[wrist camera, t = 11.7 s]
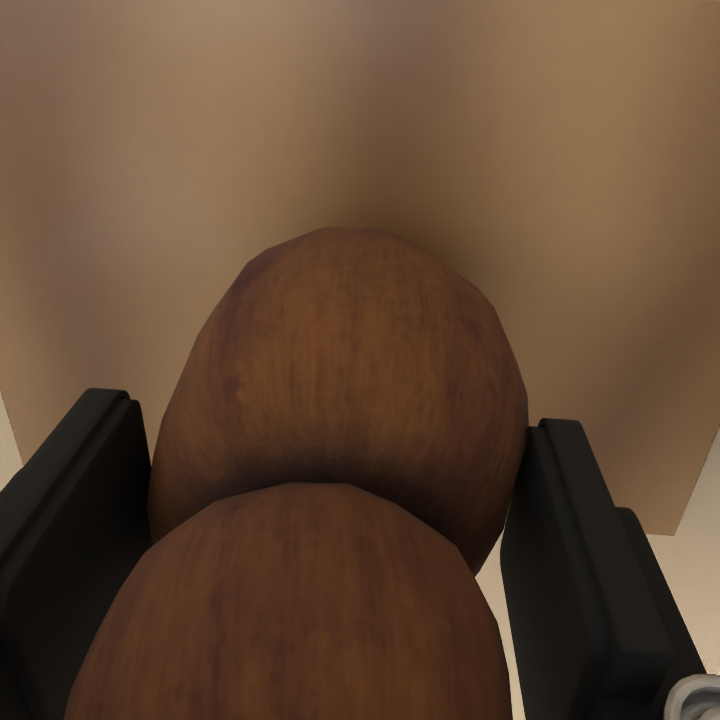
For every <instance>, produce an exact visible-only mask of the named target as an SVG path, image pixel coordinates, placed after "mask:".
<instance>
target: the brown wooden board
mask: <svg viewBox="0 0 720 720" xmlns="http://www.w3.org/2000/svg"><path fill="white" fill-rule="evenodd" d="M324 227H348V228H367V229H380V230H382V231H385V232H387V233H389V234H392V235H394V236H396V237H399V238H401V239H403V240H405V241H408V242H410V243H412V244H415V245H417V246H419V247H421V248H424V249H425V250H426V251H427V252H429V253H430V254H431V255H432V256H433V257H435V258H436V259H438V260H439V261H440V262H442V263H443V264H445V265H446V266H447V267H449V268H450V269H452V270H453V271H455V272H456V273H457V274H459V275H460V276H462V277H463V278H464V279H466V280H467V281H469V282H470V283H472V284H473V285H474V286H476V287H477V288H478V289H479V290H480V291H481V292H482V293H483V295H484V296H485V297H486V298H487V299H488V300H489V302H490V303H491V304H492V305H493V306H494V307H495V310H496V312H497V315H498V317H499V319H500V322H501V324H502V327H503V329H504V332H505V334H506V336H507V339H508V341H509V344H510V346H511V348H512V351H513V353H514V356H515V358H516V360H517V363H518V366H519V369H520V372H521V376H522V379H523V382H524V385H525V388H526V391H527V395H528V413H529V426H536V427H538V424H539V422H540V420H541V419H542V418H553V419H568V420H578V421H580V423H581V425H582V427H583V429H584V431H585V434H586V436H587V439H588V441H589V444H590V446H591V449H592V451H593V453H594V456H595V458H596V461H597V463H598V466H599V468H600V471H601V473H602V475H603V478H604V480H605V483H606V485H607V488H608V490H609V493H610V495H611V497H612V500H613V502H614V505H615V507H627V508H630V509H631V510H632V511H634V513H635V514H636V516H637V518H638V519H639V521H640V524H641V526H642V528H643V530H644V533H645V534H655V535H670V536H674V535H675V532H676V530H677V527H678V525H679V523H680V520H681V518H682V515H683V513H684V511H685V508H686V506H687V503H688V501H689V499H690V496H691V494H692V491H693V489H694V487H695V484H696V482H697V479H698V477H699V475H700V472H701V470H702V467H703V465H704V462H705V460H706V458H707V455H708V453H709V450H710V448H711V446H712V443H713V441H714V438H715V436H716V434H717V431H718V429H719V426H720V0H0V392H1V395H2V398H3V401H4V405H5V408H6V411H7V414H8V417H9V420H10V424H11V427H12V430H13V433H14V436H15V440H16V443H17V446H18V449H19V452H20V456H21V459H22V462H23V465H25V464H26V463H27V462H28V461H29V459H30V458H31V457H32V456H33V454H34V453H35V452H36V451H37V449H38V448H39V447H40V446H41V444H42V443H43V442H44V441H45V440H46V438H47V437H48V436H49V435H50V433H51V432H52V431H53V430H54V428H55V427H56V426H57V425H58V424H59V422H60V421H61V420H62V419H63V417H64V416H65V415H66V414H67V412H68V411H69V410H70V409H71V407H72V406H73V405H74V404H75V403H76V401H77V400H78V399H79V398H80V396H81V395H82V394H83V393H84V392H85V391H86V390H87V389H89V388H102V389H117V390H125V391H127V392H128V394H129V395H130V398H131V399H134V400H138V401H139V403H140V406H141V410H142V415H143V421H144V427H145V432H146V438H147V444H148V449H149V455H150V461H151V466H152V460H153V455H154V451H155V446H156V442H157V438H158V434H159V429H160V425H161V421H162V418H163V416H164V413H165V411H166V409H167V406H168V404H169V402H170V399H171V397H172V394H173V392H174V390H175V387H176V385H177V383H178V380H179V378H180V376H181V373H182V371H183V369H184V366H185V364H186V361H187V359H188V357H189V354H190V352H191V349H192V347H193V345H194V342H195V340H196V337H197V335H198V333H199V332H200V330H201V329H202V327H203V325H204V324H205V322H206V321H207V319H208V318H209V316H210V314H211V313H212V311H213V310H214V308H215V307H216V305H217V304H218V303H219V301H220V300H221V298H222V297H223V296H224V294H225V293H226V291H227V290H228V289H229V287H230V286H231V285H232V283H233V282H234V280H235V279H236V278H237V276H238V275H239V273H240V272H241V271H242V269H243V268H244V266H245V265H246V264H247V262H249V261H250V260H251V259H253V258H254V257H256V256H257V255H259V254H260V253H261V252H263V251H264V250H266V249H268V248H271V247H273V246H276V245H278V244H281V243H283V242H286V241H289V240H291V239H294V238H296V237H299V236H301V235H304V234H307V233H309V232H312V231H314V230H317V229H319V228H324ZM510 501H511V500H510ZM508 510H509V509H508ZM507 515H508V513H507ZM506 519H507V517H506ZM505 524H506V521H505Z"/></svg>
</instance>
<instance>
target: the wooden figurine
mask: <svg viewBox="0 0 720 720" xmlns="http://www.w3.org/2000/svg"><path fill="white" fill-rule="evenodd" d="M528 426H529V413H528V395H527V391H526V388H525V385H524V382H523V379H522V376H521V372H520V369H519V366H518V363H517V360H516V358H515V356H514V353H513V351H512V348H511V346H510V344H509V341H508V339H507V336H506V334H505V332H504V329H503V327H502V324H501V322H500V319H499V317H498V315H497V312H496V310H495V307H494V306H493V305H492V304H491V303H490V302H489V300H488V299H487V298H486V297H485V296H484V295H483V293H482V292H481V291H480V290H479V289H478V288H477V287H476V286H474V285H473V284H472V283H470V282H469V281H467V280H466V279H464V278H463V277H462V276H460V275H459V274H457V273H456V272H455V271H453V270H452V269H450V268H449V267H447V266H446V265H445V264H443V263H442V262H440V261H439V260H438V259H436V258H435V257H433V256H432V255H431V254H430V253H429V252H427V251H426V250H425V249H424V248H421V247H419V246H417V245H415V244H412V243H410V242H408V241H405V240H403V239H401V238H399V237H396V236H394V235H392V234H389V233H387V232H385V231H382V230H380V229H367V228H348V227H324V228H319V229H317V230H314V231H312V232H309V233H307V234H304V235H301V236H299V237H296V238H294V239H291V240H289V241H286V242H283V243H281V244H278V245H276V246H273V247H271V248H268V249H266V250H264V251H263V252H261V253H260V254H259V255H257V256H256V257H254V258H253V259H251V260H250V261H249V262H247V264H246V265H245V266H244V268H243V269H242V271H241V272H240V273H239V275H238V276H237V278H236V279H235V280H234V282H233V283H232V285H231V286H230V287H229V289H228V290H227V291H226V293H225V294H224V296H223V297H222V298H221V300H220V301H219V303H218V304H217V305H216V307H215V308H214V310H213V311H212V313H211V314H210V316H209V318H208V319H207V321H206V322H205V324H204V325H203V327H202V329H201V330H200V332H199V333H198V335H197V337H196V340H195V342H194V345H193V347H192V349H191V352H190V354H189V357H188V359H187V361H186V364H185V366H184V369H183V371H182V373H181V376H180V378H179V380H178V383H177V385H176V387H175V390H174V392H173V394H172V397H171V399H170V402H169V404H168V406H167V409H166V411H165V413H164V416H163V418H162V421H161V425H160V429H159V434H158V438H157V442H156V446H155V451H154V455H153V460H152V468H151V476H150V483H149V491H148V499H147V507H146V508H147V514H148V521H149V528H150V535H151V542H152V547H151V548H150V549H149V550H147V551H146V552H145V553H144V554H143V556H142V557H141V559H140V560H139V561H138V563H137V564H136V566H135V567H134V569H133V570H132V572H131V573H130V575H129V576H128V578H127V579H126V580H125V582H124V583H123V585H122V586H121V588H120V589H119V591H118V592H117V594H116V596H115V598H114V600H113V602H112V604H111V606H110V608H109V610H108V612H107V614H106V616H105V617H104V619H103V621H102V623H101V625H100V627H99V629H98V631H97V633H96V635H95V637H94V639H93V641H92V644H91V646H90V648H89V650H88V652H87V655H86V657H85V659H84V661H83V664H82V666H81V668H80V670H79V672H78V675H77V677H76V679H75V681H74V683H73V686H72V688H71V690H70V694H69V698H68V702H67V706H66V711H65V715H64V719H63V720H513V716H512V705H511V693H510V681H509V672H508V667H507V663H506V658H505V654H504V649H503V645H502V640H501V636H500V631H499V627H498V622H497V621H496V619H495V617H494V615H493V613H492V611H491V609H490V607H489V605H488V603H487V601H486V599H485V597H484V595H483V593H482V591H481V589H480V587H479V585H478V583H477V581H476V579H475V576H476V575H477V574H478V572H479V571H480V569H481V568H482V566H483V564H484V562H485V561H486V559H487V557H488V555H489V554H490V552H491V550H492V548H493V547H494V545H495V543H496V542H497V540H498V538H499V536H500V535H501V533H502V531H503V529H504V525H505V521H506V517H507V513H508V509H509V505H510V500H511V496H512V492H513V488H514V484H515V480H516V477H517V473H518V470H519V467H520V464H521V461H522V458H523V455H524V452H525V449H526V446H527V443H528V432H527V427H528Z"/></svg>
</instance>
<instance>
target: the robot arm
mask: <svg viewBox="0 0 720 720" xmlns="http://www.w3.org/2000/svg"><path fill="white" fill-rule="evenodd" d="M527 432H528V443H527V446H526V449H525V452H524V455H523V458H522V461H521V464H520V467H519V470H518V473H517V477H516V480H515V484H514V488H513V492H512V496H511V501H510V505H509V510H508V515H507V519H506V524H505V528H504V533H503V538H502V542H501V549H500V566H501V573H502V579H503V585H504V591H505V597H506V603H507V609H508V615H509V621H510V627H511V633H512V639H513V645H514V651H515V657H516V663H517V670H518V676H519V682H520V688H521V694H522V700H523V706H524V712H525V718H526V720H720V676H719V675H715V674H707V672H706V670H705V668H704V666H703V663H702V661H701V659H700V657H699V654H698V652H697V650H696V648H695V645H694V643H693V641H692V639H691V636H690V634H689V632H688V630H687V627H686V625H685V623H684V621H683V618H682V616H681V614H680V612H679V609H678V607H677V605H676V603H675V600H674V598H673V596H672V594H671V591H670V589H669V587H668V585H667V582H666V580H665V578H664V576H663V573H662V571H661V569H660V567H659V564H658V562H657V560H656V558H655V555H654V553H653V551H652V548H651V546H650V544H649V542H648V539H647V537H646V535H645V533H644V530H643V528H642V526H641V524H640V521H639V519H638V518H637V516H636V514H635V513H634V511H632V510H631V509H630V508H627V507H615V505H614V502H613V500H612V497H611V495H610V493H609V490H608V488H607V485H606V483H605V480H604V478H603V475H602V473H601V471H600V468H599V466H598V463H597V461H596V458H595V456H594V453H593V451H592V449H591V446H590V444H589V441H588V439H587V436H586V434H585V431H584V429H583V427H582V425H581V423H580V421H578V420H568V419H553V418H542V419H541V420H540V422H539V424H538V427H536V426H528V427H527ZM151 468H152V466H151V461H150V455H149V449H148V444H147V438H146V432H145V427H144V421H143V415H142V410H141V406H140V403H139V401H138V400H134V399H131V398H130V395H129V394H128V392H127V391H125V390H117V389H102V388H89V389H87V390H86V391H85V392H84V393H83V394H82V395H81V396H80V398H79V399H78V400H77V401H76V403H75V404H74V405H73V406H72V407H71V409H70V410H69V411H68V412H67V414H66V415H65V416H64V417H63V419H62V420H61V421H60V422H59V424H58V425H57V426H56V427H55V428H54V430H53V431H52V432H51V433H50V435H49V436H48V437H47V438H46V440H45V441H44V442H43V443H42V444H41V446H40V447H39V448H38V449H37V451H36V452H35V453H34V454H33V456H32V457H31V458H30V459H29V461H28V462H27V463H26V464H25V465H24V467H23V468H22V469H20V470H19V471H18V472H17V473H16V474H15V475H14V476H13V478H12V479H11V480H10V481H9V483H8V484H7V485H6V486H5V487H4V489H3V490H2V491H1V492H0V720H63V719H64V715H65V711H66V706H67V702H68V698H69V694H70V690H71V688H72V686H73V683H74V681H75V679H76V677H77V675H78V672H79V670H80V668H81V666H82V664H83V661H84V659H85V657H86V655H87V652H88V650H89V648H90V646H91V644H92V641H93V639H94V637H95V635H96V633H97V631H98V629H99V627H100V625H101V623H102V621H103V619H104V617H105V616H106V614H107V612H108V610H109V608H110V606H111V604H112V602H113V600H114V598H115V596H116V594H117V592H118V591H119V589H120V588H121V586H122V585H123V583H124V582H125V580H126V579H127V578H128V576H129V575H130V573H131V572H132V570H133V569H134V567H135V566H136V564H137V563H138V561H139V560H140V559H141V557H142V556H143V554H144V553H145V552H146V551H147V550H149V549H150V548H151V547H152V542H151V535H150V528H149V521H148V514H147V508H146V507H147V499H148V491H149V483H150V476H151Z"/></svg>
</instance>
